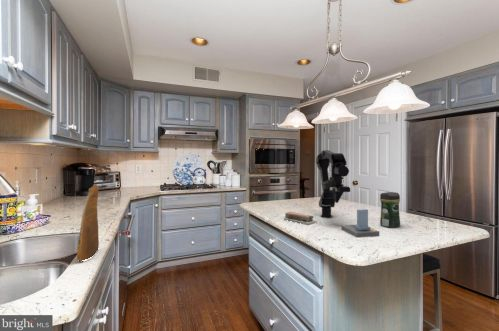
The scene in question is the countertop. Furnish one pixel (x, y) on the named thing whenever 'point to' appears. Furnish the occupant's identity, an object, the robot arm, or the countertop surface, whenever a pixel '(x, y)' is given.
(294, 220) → the packaged product
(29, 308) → the countertop surface
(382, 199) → the coffee jar
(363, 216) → the switch lever
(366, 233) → the switch box
